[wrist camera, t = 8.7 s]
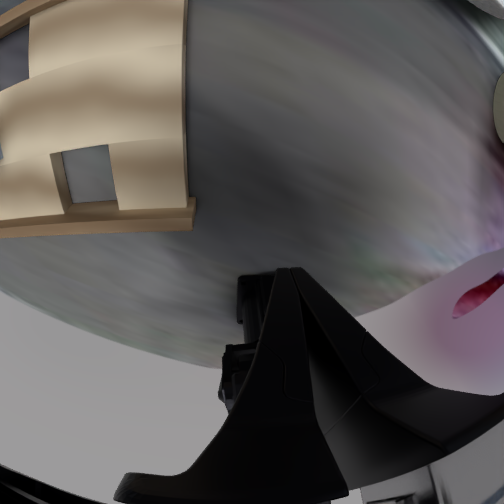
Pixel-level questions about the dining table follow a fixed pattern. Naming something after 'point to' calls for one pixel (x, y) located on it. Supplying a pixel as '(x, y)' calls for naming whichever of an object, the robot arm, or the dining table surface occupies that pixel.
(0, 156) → the slate block
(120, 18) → the tray
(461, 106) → the dining table surface
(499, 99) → the reusable coffee cup
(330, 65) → the dining table surface
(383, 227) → the dining table surface
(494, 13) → the cereal bowl
